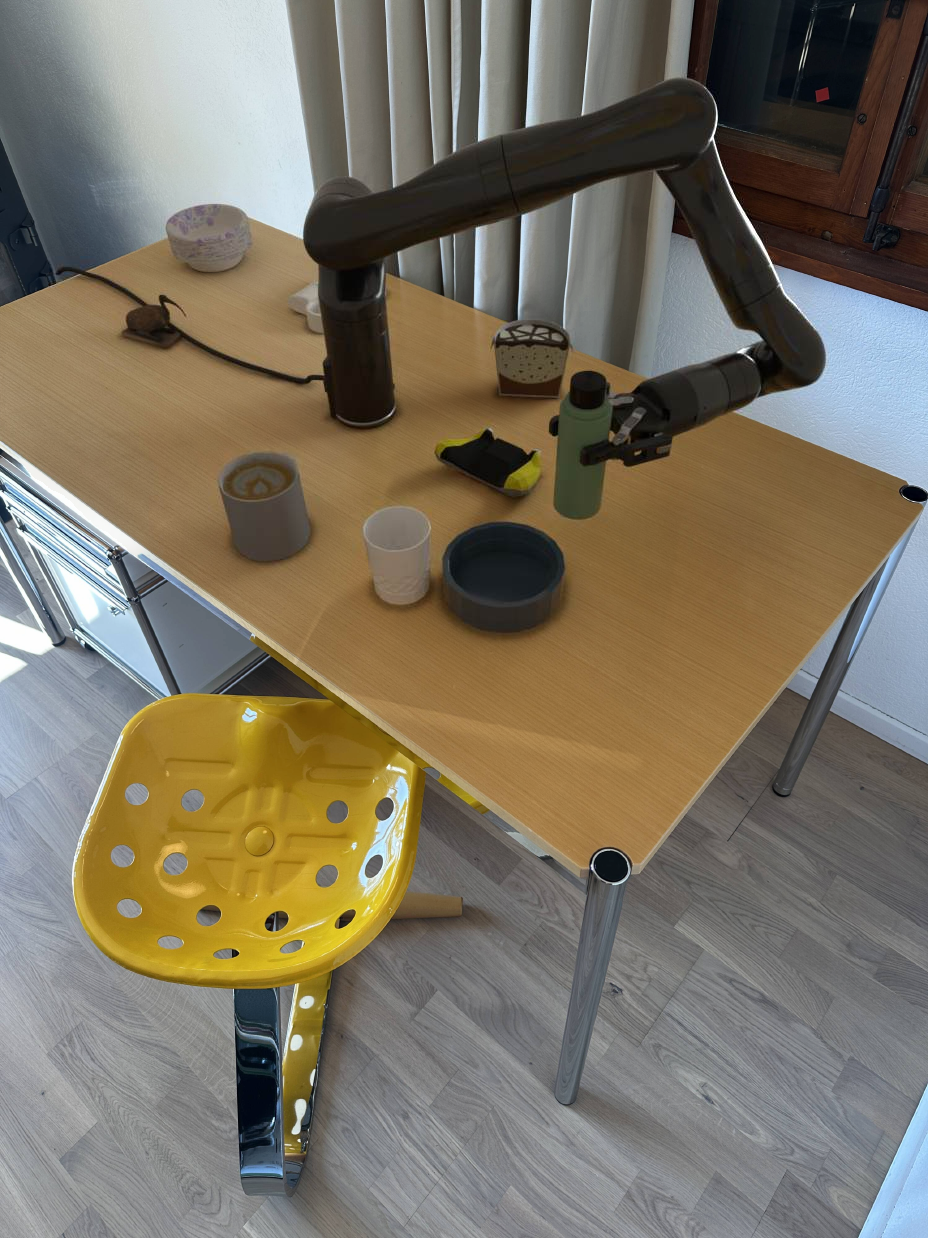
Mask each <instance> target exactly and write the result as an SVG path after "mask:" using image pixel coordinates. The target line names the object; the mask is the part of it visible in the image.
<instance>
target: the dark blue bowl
mask: <svg viewBox="0 0 928 1238" xmlns="http://www.w3.org/2000/svg"><path fill="white" fill-rule="evenodd" d="M441 566H442V568H441V569H442V583H443V584H442V585H443V588H442V589H443V598H444V600H445V602H446V604H447V606H448V608H449V611H451V612H452V613H453V614H454V615H455V616H456V617H457V618H458V619H459V620H460V621H461V622H463V623H465V624H467V625H469V626H471V627H473V628H475V629H477V630H481V631H486V632H489V633H490V632H491V633H499V634H501V633H502V634H507V633H509V634H510V633H517V632H522V631H526V630H530V629H532V628H535V627H537V626H538V625H540V624H542V623H544V622H545V621H547V620H549V618H551V616H552V615H553V614H554V613H555V612H556V610H557V609H558V607H559V606H560V604H561V600H562V597H563V594H564V584H565V575H566V561H565V557H564V552H563V551H562V549H561V548H560V547H559V545H558V544H557V542H556V540H555V539H553V538H552V537H551V536H549V535H548V534H547V533H545V532H544V531H543V530H541V529H538V528H536V527H534V526H531V525H529V524H524V523H520V522H519V523H518V522H513V521H507V520H506V521H490V522H485V523H482V524H479V525H474V526H471V527H469V528H468V529H466V530H464V531H462V532H461V533H459V534H457V536H455V537H454V538H453V539H452V540H451V542H449V544H448V545H447V546H446V549H445V551H444V553H443V555H442V558H441Z"/></svg>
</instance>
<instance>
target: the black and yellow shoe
mask: <svg viewBox="0 0 928 1238" xmlns="http://www.w3.org/2000/svg"><path fill="white" fill-rule="evenodd" d="M434 448H435V449H434V455H435V457H436V459H437V461H438V462H440V463H441V464H443V465H444V466H445V467H447V468H450V469H453V470H456V471H458V472H460V473H462V474H463V475H465V476H468V477H470V478H472V479H475V480H476V481H479V482H481V483H483V484H485V485H486V486H489V487H491V488H492V489H494V490H497V491H498V492H501V493H503V494H504V495H506V496H508V497H518V498H519V497H523V496H525V495H526V496H527V495H529V494H530V493H531V492H532V491H533V490H534V489H535V488H536V487H537V486H538V483H539V481H540V479H541V470H542V461H541V457H542V451H541V449H534V450H533V449H532V450H531V451H530V452H529V453H527V452H526V451H525V449H523V448H522V447H519V446H518V445H515V444H512V443H511V442H508V441H506V440H504V439H502V438H499V437H496V438H495V436H494V429H493V428H492V427H487V428H483V429H481V430H480V431H479V432H477V433H476V434H475V435H474V436H472V437H470V438H469V437H468V438H449V439H446V438H445V439H443V440H442V441H440V442H438V443H437V444H436V446H435V447H434Z"/></svg>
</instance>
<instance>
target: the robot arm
mask: <svg viewBox="0 0 928 1238" xmlns="http://www.w3.org/2000/svg"><path fill="white" fill-rule="evenodd" d="M717 125H718V108H717V104H716V101H715V99H714V97H713V95H712V93H711V92H710V91H709V90H708V88H707V87H706V86H704V85H703V83H702V84H701V83H700V82H699V81H696V80H694V79H693V78H688V77H678V76H677V77H672V78H668V79H665V80H663V81H660V82H658V83H656V84H654V85H653V86H651V87H648V88H647V89H644V90H642V91H640V92H638V93H636V94H634V95H632V96H629V97H627V98H625V99H622V100H620V101H617V102H615V103H612V104H610V105H608V106H605V107H603V108H601V109H598V110H595V111H592V112H589V113H587V114H582V115H578V116H574V117H568V118H563V119H557V120H552V121H547V122H543V123H538V124H535V125H530V126H526V127H522V128H519V129H515V130H512V131H508V132H507V131H506V132H504V133H500V134H497V135H493V136H491V137H488V138H484V139H482V140H479V141H476V142H473V143H471V144H468V145H466V146H463V147H461V148H459V149H457V150H455V151H453V152H451V153H449V154H448V155H446V156H445V157H443V158H442V159H440V160H437V162H435V163H434V164H432V165H431V166H429V167H428V168H427V169H425V170H424V171H421V172H420V173H418V174H417V175H416V176H414V177H412V178H411V179H409V180H407V181H405V182H403V183H401V184H398V185H396V186H394V187H390V188H388V189H385V190H381V191H376V192H373V190H371V188H370V187H369V186H368V185H367V184H365V183H364V182H362V181H361V180H359V179H358V178H355V177H351V176H345V175H343V176H341V175H339V176H334V177H332V178H329V179H328V180H326V181H324V182H323V183H322V184H321V185H320V186H319V187H318V189H316V191H315V192H314V195H313V197H312V199H311V202H310V205H309V208H308V210H307V213H306V216H305V219H304V223H303V230H302V241H303V245H304V248H305V251H306V253H307V255H308V256H309V257H310V258H311V260H312V261H313V262H314V263H316V264H317V266H318V269H317V270H318V277H317V280H318V299H319V306H320V312H321V319H322V325H323V332H324V333H323V339H324V344H325V351H326V356H325V357H324V359H323V361H322V370H323V374H310V375H307V377H305V378H304V377H297V376H292V375H288V374H286V373H283V372H279V371H275V370H273V369H270V368H266V367H263V366H260V365H256V364H253V363H249V362H246V361H243V360H240V359H238V358H235V357H233V356H230V355H227V354H225V353H223V352H220V351H218V350H216V349H214V348H212V347H210V346H208V345H206V344H204V343H202V342H200V341H199V340H196V339H195V338H194V337H192V336H191V335H189V334H187V333H186V332H185V331H183V330H182V329H180V328H178V326H176V325H174V324H173V323H172V322H171V321H170V322H169V324H168V325H167V326H166V327H167V328H170V329H175V330H177V332H179V333H180V334H181V336H182V339H185V340H186V341H188V342H189V343H190V344H192V345H194V346H196V347H197V348H199V349H201V350H203V351H204V352H207V353H209V354H210V355H213V356H214V357H217V358H218V359H222V360H224V361H226V362H229V363H232V364H234V365H237V366H240V367H242V368H246V369H249V370H252V371H254V372H255V371H256V372H258V373H262V374H265V375H268V376H271V377H274V378H278V379H282V380H285V381H288V382H292V383H295V384H302V385H308V384H310V383H311V381H322V383H323V388H324V392H325V393H326V396H327V402H328V408H329V414H330V418H331V419H336V420H337V421H338V422H339V423H341V424H342V425H344V426H345V427H349V428H354V429H371V428H376V427H379V426H382V425H384V424H386V423H387V422H389V421H390V420H392V419H393V417H394V416H395V414H396V411H397V403H396V397H395V389H396V385H395V383H394V376H393V375H394V374H393V365H392V355H391V344H390V343H391V342H390V341H391V340H390V332H389V329H390V328H389V320H388V309H387V292H386V293H385V288H386V285H387V269H386V268H387V267H386V258H388V257H390V256H391V255H395V254H396V253H399V252H402V251H404V250H406V249H409V248H412V247H414V246H418V245H420V244H423V243H427V242H430V241H434V240H438V239H442V238H446V237H449V236H453V235H457V234H461V233H463V232H466V231H469V230H473V229H477V228H481V227H484V226H485V227H486V226H489V225H492V224H496V223H499V222H503V221H506V220H510V219H513V218H517V217H520V216H523V215H527V214H529V213H532V212H535V211H537V210H540V209H542V208H545V207H547V206H551V205H553V204H555V203H557V202H560V201H562V200H564V199H566V198H568V197H571V196H573V195H575V194H576V193H579V192H581V191H583V190H585V189H587V188H590V187H592V186H594V185H597V184H600V183H603V182H607V181H610V180H613V179H619V178H623V177H628V176H632V175H637V174H642V173H649V172H654V173H656V175H657V176H658V177H659V179H660V180H661V182H662V183H663V185H664V186H665V187H666V189H667V190H668V192H669V193H670V195H671V197H672V198H673V200H674V201H675V203H676V206H677V207H678V208H679V210H680V212H681V214H682V216H683V218H684V221H685V222H686V224H687V226H688V228H689V231H690V233H691V235H692V237H693V239H694V242H695V244H696V246H697V248H698V251H699V254H700V256H701V258H702V261H703V263H704V265H705V268H706V271H707V273H708V275H709V277H710V280H711V282H712V283H713V286H714V288H715V291H716V293H717V294H718V297H719V300H720V301H721V304H722V306H723V307H724V310H725V311H726V313H727V316H728V317H729V320H730V322H731V323H732V325H733V326H734V327H735V328H736V329H738V330H740V331H744V332H745V331H746V332H753V333H755V334H757V335H758V336H759V337H760V338H761V339H762V340H759V341H756V342H754V343H751V344H748V345H747V346H744V347H742V348H740V349H738V350H736V351H734V352H731V353H727V354H723V355H720V356H716V357H714V358H712V359H708V360H705V361H703V362H700V363H694V364H688V365H685V366H682V367H680V368H677V369H674V370H671V371H668V372H665V373H663V374H660V375H657V376H653V377H651V378H648V379H646V380H643V381H641V382H639V384H638V385H637V386H636V387H635V388H634V389H633V390H632V391H631V392H621V393H615V392H614V391H612V390H611V383H610V382H609V381H607V384H606V393H605V394H606V395H607V396H608V398H609V401H610V403H611V404H612V408H613V410H612V418H611V426H610V432H612V433H613V434H614V436H613V437H612V438H611V440H610V439H609V440H608V439H606V440H604V441H601V442H599V443H596V444H593V445H590V446H588V447H585V448H583V449H582V450H581V452H580V463H581V464H582V465H583V466H584V467H586V466H588V465H589V466H591V465H596V464H598V463H601V462H604V461H606V462H607V461H610V460H612V461H618V460H619V461H622V465H623V466H624V467H627V468H631V467H634V466H638V465H642V464H645V463H649V462H653V461H656V460H657V461H658V460H660V459H664V458H667V457H669V456H670V455H671V454H670V453H671V450H672V446H673V445H672V444H673V439H674V437H676V436H679V435H682V434H684V433H687V432H690V431H692V430H695V429H697V428H699V427H702V426H705V425H707V424H709V423H711V422H712V421H714V420H716V419H718V418H721V417H723V416H726V415H728V414H731V413H733V412H736V411H739V410H740V409H743V408H745V407H747V406H749V405H750V404H752V403H753V402H754V401H755V400H756V399H759V398H762V397H766V396H769V395H773V394H777V393H782V392H787V391H788V392H789V391H792V390H797V389H798V390H799V389H803V388H807V387H809V386H811V385H813V384H815V383H816V382H818V381H819V379H820V378H821V377H822V376H823V374H824V371H825V368H826V365H827V364H826V363H827V353H826V347H825V344H824V341H823V338H822V336H821V335H820V333H819V332H818V330H817V329H816V328H815V325H814V324H812V322H811V321H810V320H809V319H808V317H806V315H805V314H804V313H803V312H802V310H801V308H799V307H798V305H797V304H796V303H795V302H794V301H793V300H792V299H791V298H790V297H789V295H788V294H787V293H786V292H785V289H784V287H783V285H782V282H781V280H780V278H779V275H778V273H777V271H776V269H775V267H774V264H773V262H772V261H771V258H770V256H769V254H768V252H767V250H766V248H765V246H764V244H763V242H762V240H761V238H760V237H759V235H758V234H757V232H756V230H755V228H754V226H753V225H752V222H751V221H750V220H749V218H748V216H747V215H746V213H745V211H744V210H743V208H742V206H741V204H740V203H739V201H738V200H737V198H736V196H735V194H734V191H733V189H732V187H731V185H730V182H729V180H728V178H727V176H726V173H725V171H724V168H723V166H722V163H721V159H720V156H719V153H718V149H717V146H716V142H715V138H714V135H715V133H716V130H717ZM65 272H71V273H74V274H78V275H82V276H84V277H87V278H91V279H94V280H97V281H100V282H102V283H105V284H107V285H108V286H110V287H112V288H114V289H116V290H118V291H119V292H121V293H123V294H125V295H126V296H128V297H129V298H130V299H132V300H133V301H135V302H136V303H138V304H139V305H140V306H141V307H143V306H147V305H149V304H148V303H147V302H146V301H145V300H143V299H142V298H140V297H139V296H138V295H136V294H135V293H134V292H131V291H130V290H128V289H127V288H125V287H123V286H121V285H119V284H118V283H116V282H114V281H112V280H111V279H109V278H106V277H104V276H102V275H98V274H95V273H92V272H89V271H86V270H83V269H81V268H80V269H79V268H76V267H72V266H62V267H59V268H58V269H57V270H56V272H55V276H61V275H62V274H63V273H65ZM386 289H387V288H386ZM558 425H559V414H556V415H554V416H552V417H551V418H550V420H549V421H548V434H549V435H551V436H552V437H558ZM637 452H638V453H637ZM636 453H637V454H636Z"/></svg>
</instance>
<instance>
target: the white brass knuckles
mask: <svg viewBox="0 0 928 1238" xmlns="http://www.w3.org/2000/svg"><path fill="white" fill-rule="evenodd" d="M385 293H386V294H387V288H385ZM287 304H288V306H289V307H290V308H291V309H292V310H293V311H295V312H297V313H300V314H302V315H303V316H306V319H307V324H308V328H309V329H310V330H311V331H313V332H314V333H317V334H324V332H323V325H322V319H321V312H320V306H319V299H318V279H316V280H315V281H313V282H311V283H309V284H307V286H305V287H304V288H302V289H300V290H299V291H297V292H296V293H294V294H292V295H290V296H288V297H287Z"/></svg>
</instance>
